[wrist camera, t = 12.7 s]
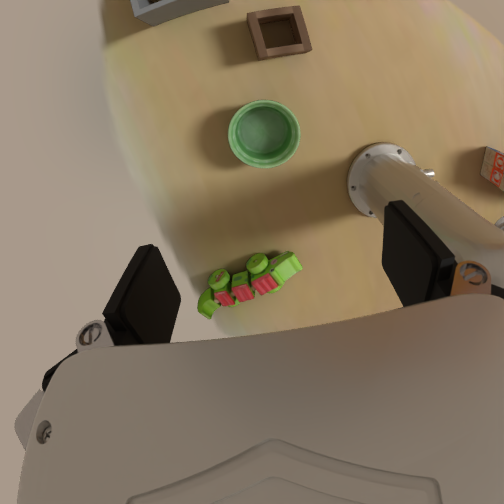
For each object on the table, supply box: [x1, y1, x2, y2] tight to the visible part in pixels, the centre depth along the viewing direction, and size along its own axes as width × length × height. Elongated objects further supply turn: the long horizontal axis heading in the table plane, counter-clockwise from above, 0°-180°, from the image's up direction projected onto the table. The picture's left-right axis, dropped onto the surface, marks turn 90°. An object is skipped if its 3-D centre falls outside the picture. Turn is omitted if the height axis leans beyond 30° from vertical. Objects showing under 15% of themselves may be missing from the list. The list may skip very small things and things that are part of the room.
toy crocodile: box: [197, 251, 303, 319], centre depth 47 cm, size 20×7×6 cm, turn 117°
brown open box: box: [247, 6, 312, 61], centre depth 26 cm, size 6×6×4 cm
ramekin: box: [228, 100, 300, 168], centre depth 34 cm, size 9×9×4 cm
